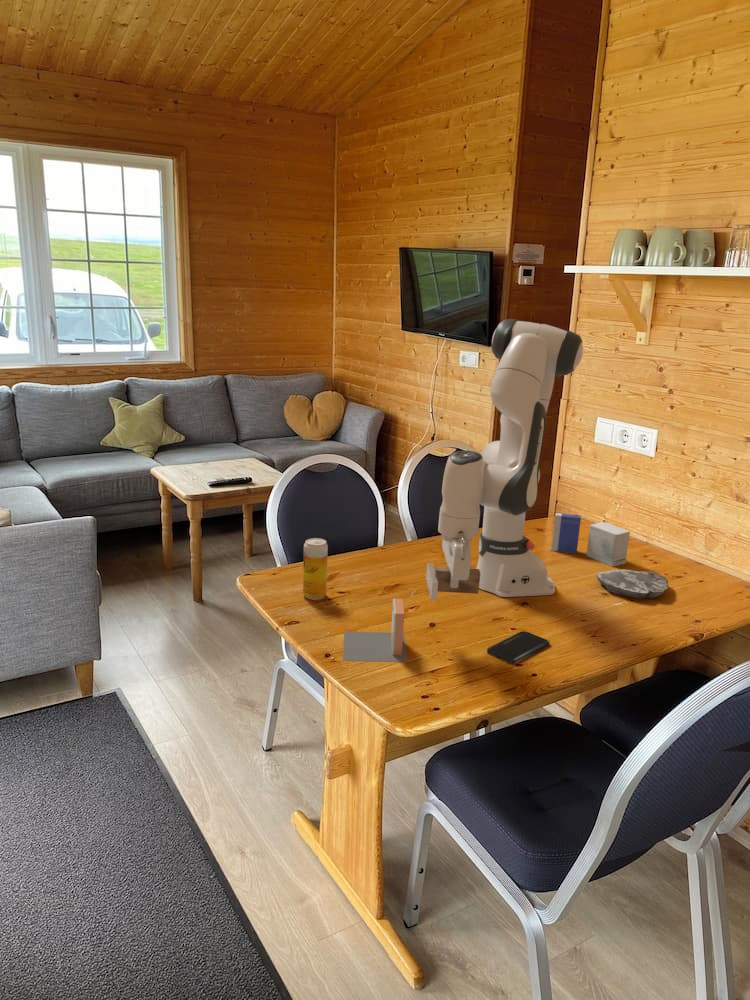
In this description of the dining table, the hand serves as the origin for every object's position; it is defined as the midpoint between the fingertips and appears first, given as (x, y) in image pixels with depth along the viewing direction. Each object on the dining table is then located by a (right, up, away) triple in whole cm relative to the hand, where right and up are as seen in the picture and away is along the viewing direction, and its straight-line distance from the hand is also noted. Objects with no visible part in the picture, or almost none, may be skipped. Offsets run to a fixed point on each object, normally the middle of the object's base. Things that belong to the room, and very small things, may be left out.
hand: (452, 583), depth 172 cm
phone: (+15, -16, +3) cm, 22 cm away
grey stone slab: (+55, -7, +40) cm, 68 cm away
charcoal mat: (-18, -15, 0) cm, 23 cm away
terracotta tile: (-13, -14, 0) cm, 19 cm away
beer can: (-33, -6, +26) cm, 43 cm away
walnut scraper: (0, -2, +1) cm, 2 cm away
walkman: (+42, +3, +68) cm, 80 cm away
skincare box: (+53, 0, +62) cm, 82 cm away
